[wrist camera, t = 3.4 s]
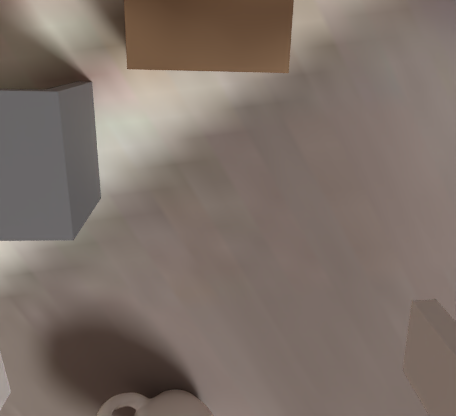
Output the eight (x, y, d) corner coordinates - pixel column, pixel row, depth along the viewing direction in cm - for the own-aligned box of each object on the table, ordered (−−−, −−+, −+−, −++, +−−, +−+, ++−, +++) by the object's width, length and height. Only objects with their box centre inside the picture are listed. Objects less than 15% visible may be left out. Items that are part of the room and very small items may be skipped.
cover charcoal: (-36, 78, 24) (-114, 88, 18) (91, 81, 25) (57, 91, 19) (-16, 197, 27) (-78, 240, 21) (100, 197, 27) (73, 240, 21)
